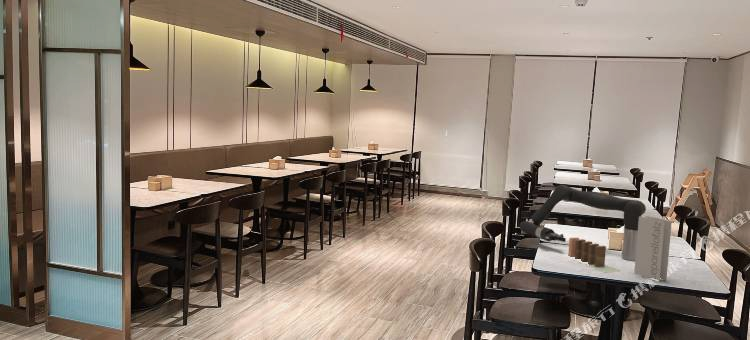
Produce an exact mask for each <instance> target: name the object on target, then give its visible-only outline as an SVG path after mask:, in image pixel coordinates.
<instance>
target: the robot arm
mask: <svg viewBox="0 0 750 340" xmlns="http://www.w3.org/2000/svg"><path fill="white" fill-rule="evenodd" d="M561 201H563V202H573V203H579V204H582V205H584V206H587V207H591V208H594V209H599V210H603V211H604V210H606V211H619V212H623V220H622V221H623V225H624V226H623V236H622V237H623V238H622V247H621V248H622V249H621V250H622V251H621V258H622V259H623V260H627V261H634V262H635V258H636V246H637V234H638V222H639V217H642V215H643V214H645V213H646V210H647V209H646V208H647V207H646V205H645V203H644V202H642V201H640V200H636V199H629V198H628V199H626V198H621V197H617V196H614V195H610V194H607V193H602V192H597V191H584V190H579V189H576V188H573V187H571V186H568V185H565V184H560V185H557V186H556V187H555V189H554V190H553V191H552V192H551V194H550V195H549V197H548V198H547V199H546V201H545V202H544V203H543V204H542V205H541V206H540V208H538V209H537V210H536V211H535V212H534V213H533V214H532V215H531V218H530V219H531V220H532V221H533V222H531V221H528V220H524V221H521V222H520V223H519V229H520V231H521V232H523V233H525V234H526V235H528V236H533V237H535V238H536V237H537V238H538V239H540V240H543V241H546V242H552V241H555V242H556V241H557V242H562V243H564V242H566V239H567V238H566V237H564V234H563V233H561V234H558V233H557V232H555V230H554V229H552V228H549V227H546V226H542V225H541V224H542V223H543V222H544V221H546V219H547V218H548V217H549V216H550V214H551V212H552V211H553V209H554V208H555V206H557V205H558V204H559V203H560V202H561Z"/></svg>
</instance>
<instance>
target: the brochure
mask: <svg viewBox="0 0 750 340" xmlns="http://www.w3.org/2000/svg"><path fill="white" fill-rule="evenodd" d="M672 222H673V221H672V220H667V219H663V218H659V217H652V216H648V215H646V216H645V217H644V216H641V217H639V222H638V234H637V246H636V258H635V261H634V272H633V274H635V275H639V276H640V278H641V277H642V278H645V279H647V278H654V279H657V280H659V281H661V280H660V278H661V279H663V280H662V281H664V280H665V281H664V282H667V278H668V269H669V268H668V267H669V266H668V265H669V255H670V245H671V234H672V233H671V231H672V225H673V224H672Z"/></svg>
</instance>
